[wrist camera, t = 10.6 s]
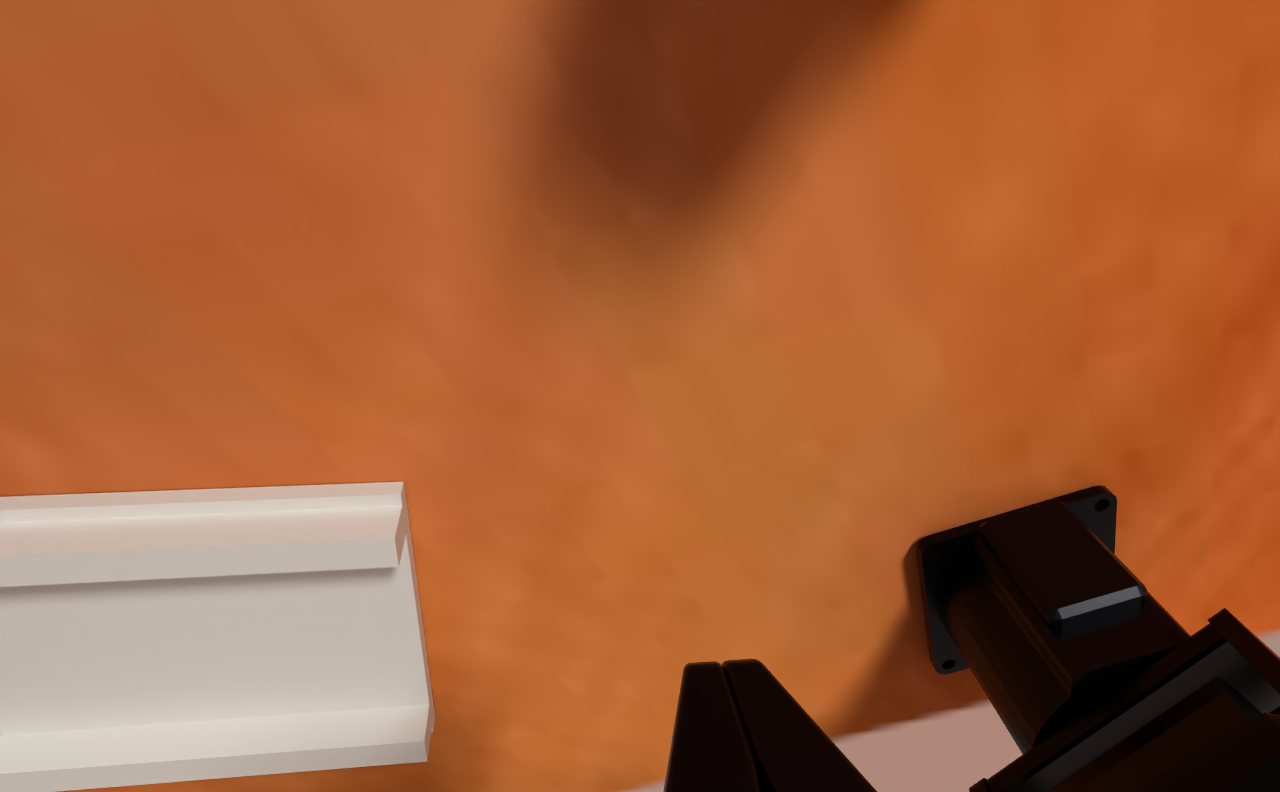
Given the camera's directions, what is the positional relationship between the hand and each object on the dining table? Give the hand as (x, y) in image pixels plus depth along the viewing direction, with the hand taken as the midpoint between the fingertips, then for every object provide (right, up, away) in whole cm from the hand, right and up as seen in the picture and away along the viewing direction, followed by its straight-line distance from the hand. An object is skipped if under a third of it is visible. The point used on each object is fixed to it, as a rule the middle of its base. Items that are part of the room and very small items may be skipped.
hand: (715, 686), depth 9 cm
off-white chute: (-15, -4, +15) cm, 22 cm away
